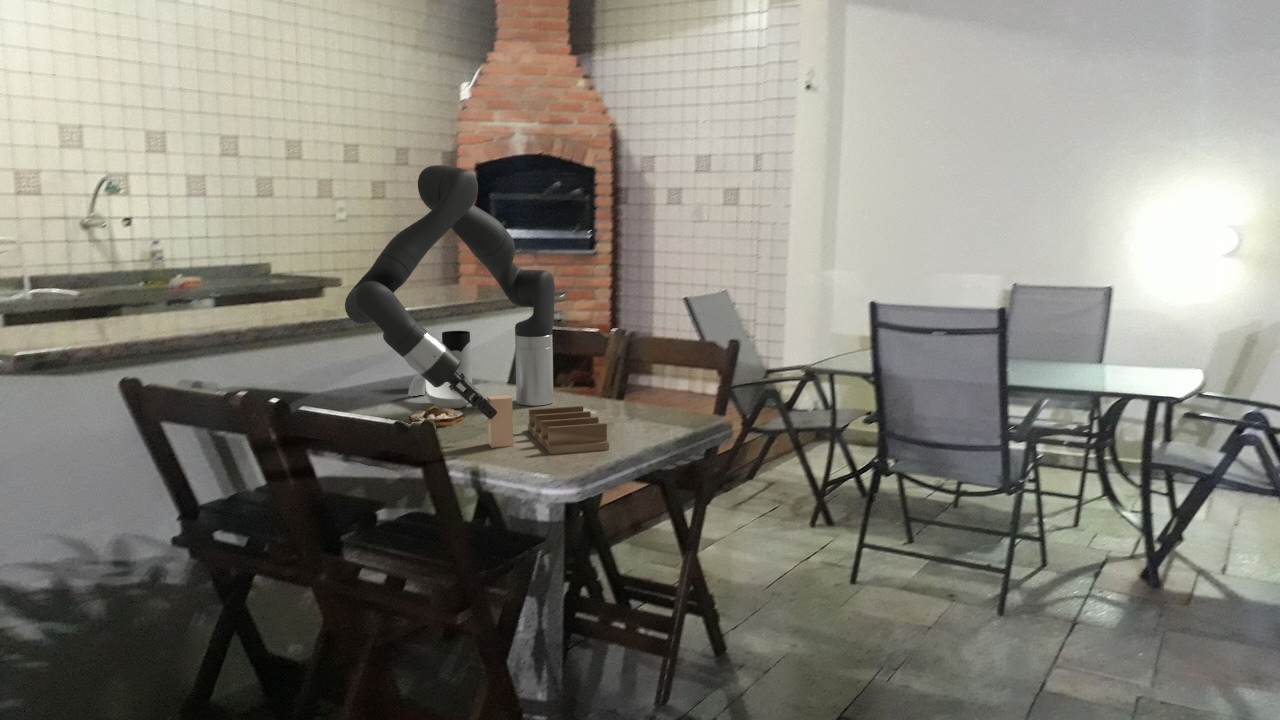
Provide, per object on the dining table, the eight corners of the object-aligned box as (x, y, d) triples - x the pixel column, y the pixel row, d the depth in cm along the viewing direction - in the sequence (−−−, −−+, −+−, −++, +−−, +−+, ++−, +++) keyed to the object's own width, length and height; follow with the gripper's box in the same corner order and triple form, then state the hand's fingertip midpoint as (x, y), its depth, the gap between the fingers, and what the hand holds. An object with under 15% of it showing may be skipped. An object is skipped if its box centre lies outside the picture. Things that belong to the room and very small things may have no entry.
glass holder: (470, 389, 253) (469, 334, 251) (418, 389, 253) (416, 334, 251) (476, 383, 262) (474, 330, 260) (424, 383, 262) (422, 330, 259)
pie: (459, 414, 225) (458, 397, 224) (478, 427, 212) (477, 408, 211) (396, 420, 218) (396, 402, 217) (412, 433, 205) (411, 415, 204)
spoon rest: (485, 408, 231) (484, 379, 230) (443, 415, 223) (442, 385, 222) (434, 394, 248) (433, 367, 247) (394, 400, 240) (393, 372, 239)
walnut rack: (527, 430, 206) (527, 407, 206) (580, 426, 210) (580, 404, 210) (550, 454, 186) (550, 429, 185) (609, 449, 190) (608, 425, 189)
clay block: (488, 443, 195) (487, 396, 193) (509, 442, 196) (508, 394, 194) (491, 447, 191) (490, 399, 190) (513, 445, 193) (512, 398, 191)
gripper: (449, 350, 180) (509, 404, 186) (440, 340, 194) (497, 391, 199) (421, 378, 180) (483, 432, 185) (414, 367, 193) (472, 417, 198)
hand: (490, 411), depth 192 cm, fingers open, 8 cm apart
